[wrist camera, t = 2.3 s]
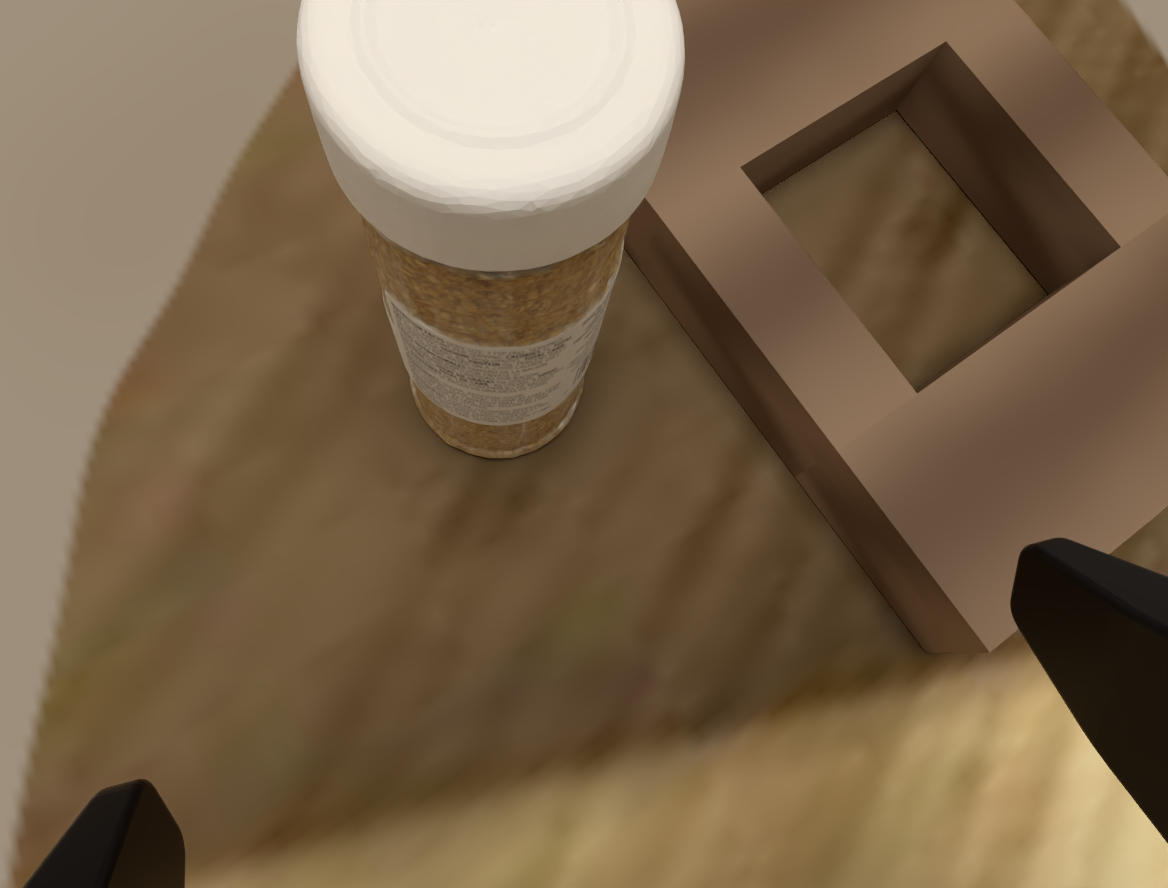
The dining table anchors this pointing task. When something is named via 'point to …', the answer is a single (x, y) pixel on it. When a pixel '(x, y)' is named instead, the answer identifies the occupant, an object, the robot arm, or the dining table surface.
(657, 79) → the sprinkles bottle
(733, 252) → the socket block
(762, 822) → the dining table surface
